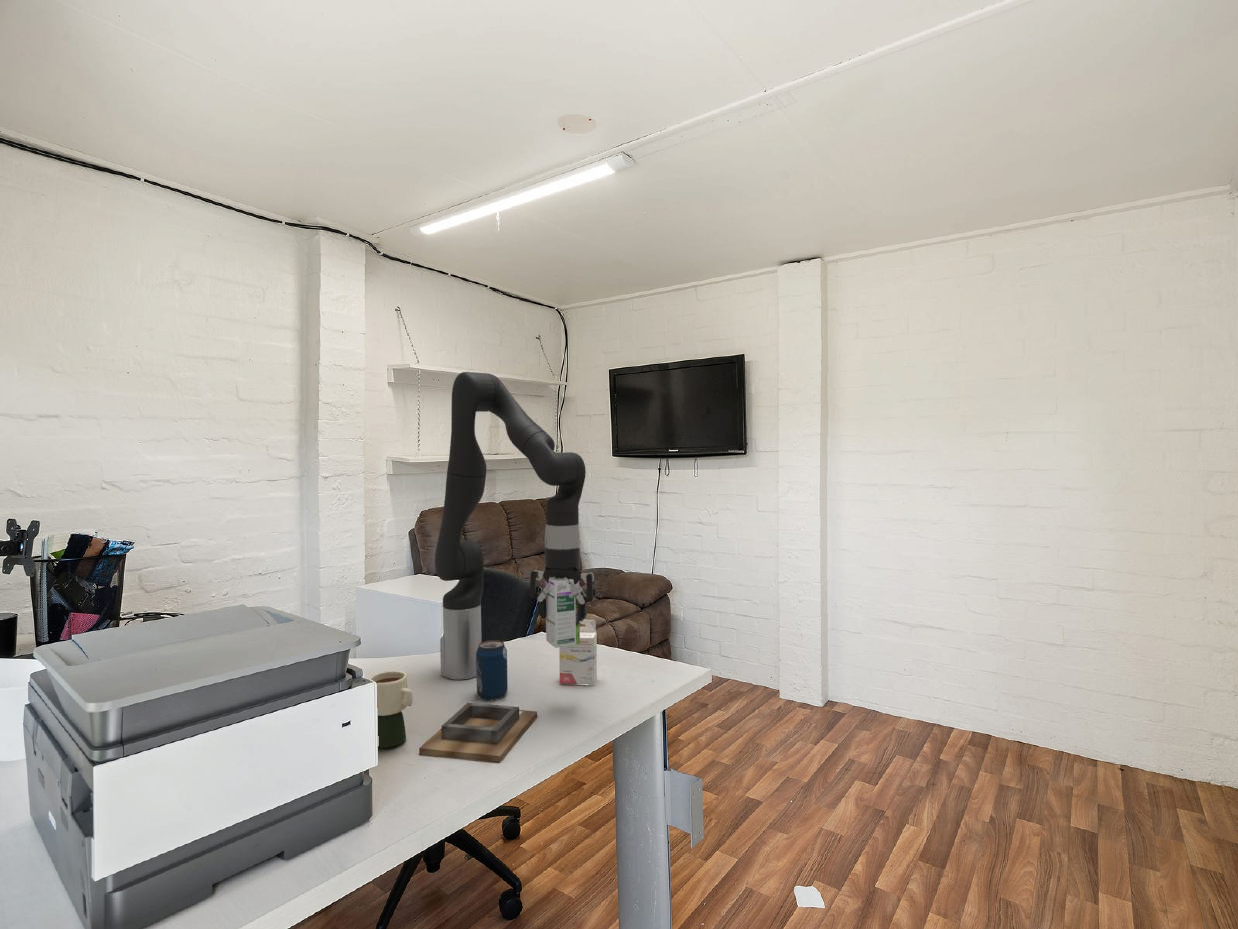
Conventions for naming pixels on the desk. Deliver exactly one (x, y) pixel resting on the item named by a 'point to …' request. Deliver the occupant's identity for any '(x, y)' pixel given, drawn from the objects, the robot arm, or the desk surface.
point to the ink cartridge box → (580, 657)
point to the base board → (480, 732)
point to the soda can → (491, 670)
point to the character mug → (391, 706)
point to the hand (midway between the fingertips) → (562, 619)
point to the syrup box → (562, 614)
